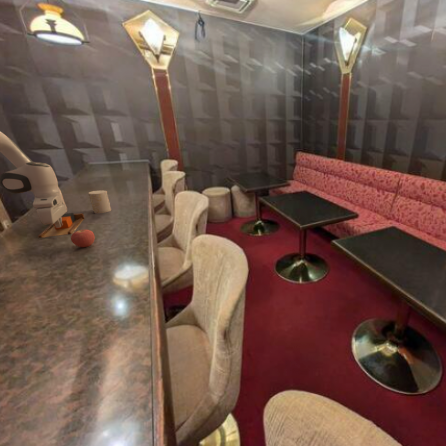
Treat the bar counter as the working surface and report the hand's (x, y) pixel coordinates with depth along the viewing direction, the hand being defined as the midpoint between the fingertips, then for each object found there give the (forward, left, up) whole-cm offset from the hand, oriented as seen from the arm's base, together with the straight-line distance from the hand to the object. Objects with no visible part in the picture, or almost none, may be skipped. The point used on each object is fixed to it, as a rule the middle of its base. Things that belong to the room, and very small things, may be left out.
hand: (59, 226), depth 117 cm
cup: (+12, +27, -3) cm, 29 cm away
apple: (+14, -23, -3) cm, 27 cm away
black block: (0, +11, -2) cm, 11 cm away
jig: (0, +4, -2) cm, 4 cm away
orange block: (0, +5, -2) cm, 5 cm away
